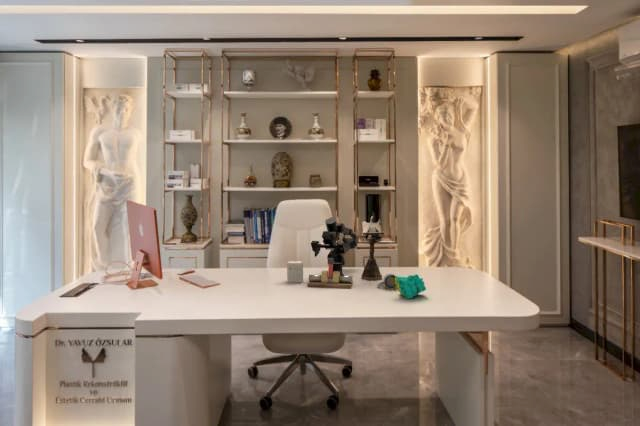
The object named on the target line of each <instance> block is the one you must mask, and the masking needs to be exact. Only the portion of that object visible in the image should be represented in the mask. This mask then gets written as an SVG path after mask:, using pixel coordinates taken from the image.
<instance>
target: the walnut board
mask: <svg viewBox="0 0 640 426" xmlns="http://www.w3.org/2000/svg"><path fill="white" fill-rule="evenodd" d="M353 285H354V280H352V283H339V284H338V283H333V280H331V279H328V283H321V282H309V281H308V283H307V288H325V289H326V288H327V289H329V288H330V289H350V290H351V289H352V286H353Z"/></svg>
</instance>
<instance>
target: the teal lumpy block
mask: <svg viewBox="0 0 640 426" xmlns="http://www.w3.org/2000/svg"><path fill="white" fill-rule="evenodd" d="M395 281H396V282H395V284H396V289H397V290H398V292H399V294H400V295H401V296H403V297H404V296H405V297H404V298H406V297H407V298H408V300H409V299H412V298H413V296H414V297H416V296H417V295H419V294H420V293H423V292H425V291H426V290H427V287H426V286H425V281H424V278H423V277H420V276H419V274H418V273H417V274H414V275H412V274H410V275H408V276H407V277H406V276H398V275H397V277H395ZM407 298H406V299H407Z"/></svg>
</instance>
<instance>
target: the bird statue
mask: <svg viewBox="0 0 640 426" xmlns="http://www.w3.org/2000/svg"><path fill="white" fill-rule="evenodd" d="M361 224H362V225H361V226H362V235H361V237H363V236H364V235H367V236H368V237H367V243H369V258H367V261H366V265H364V267H363V271H362V274H361V279H362V280H365V281H380V280H383V274H381V272H380V267H379V265H378V264H377V259H376V258H375V257H374V255H375V244H377V239H378V238H377V237H376V236H380V235H382V236H385V233H384V231H383V223H382V221H381V219H380V218H379V219H378V221H377V222H375V221H374V215H372V216H371V217H370V222H367V221H365V220H362V222H361Z"/></svg>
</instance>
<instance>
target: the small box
mask: <svg viewBox="0 0 640 426" xmlns="http://www.w3.org/2000/svg"><path fill="white" fill-rule="evenodd" d="M286 269H287V270H286V273H287V274H286V275H287V276H286V278H287V279H286V280H287V283H303V282H304V261H298V260H295V261H294V260H291V261H289V260H288V262H287V263H286Z"/></svg>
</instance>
